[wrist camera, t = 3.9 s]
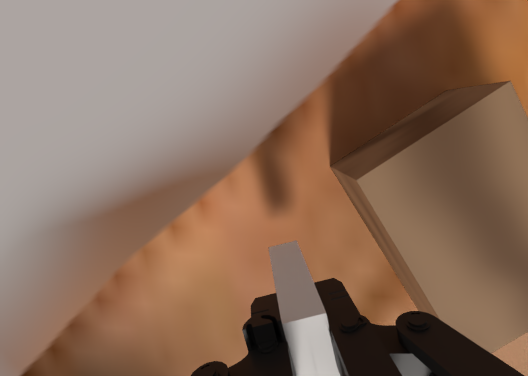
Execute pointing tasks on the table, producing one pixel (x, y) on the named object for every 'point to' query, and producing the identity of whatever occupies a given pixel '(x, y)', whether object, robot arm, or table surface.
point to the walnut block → (453, 208)
